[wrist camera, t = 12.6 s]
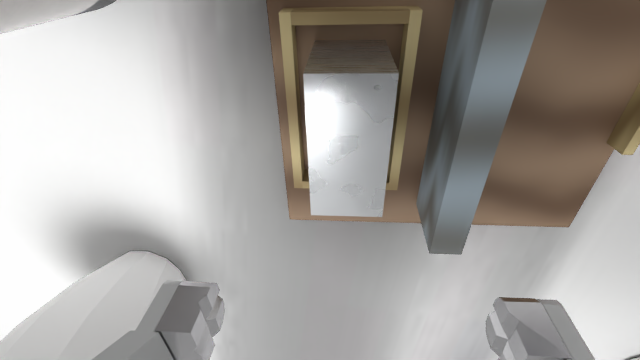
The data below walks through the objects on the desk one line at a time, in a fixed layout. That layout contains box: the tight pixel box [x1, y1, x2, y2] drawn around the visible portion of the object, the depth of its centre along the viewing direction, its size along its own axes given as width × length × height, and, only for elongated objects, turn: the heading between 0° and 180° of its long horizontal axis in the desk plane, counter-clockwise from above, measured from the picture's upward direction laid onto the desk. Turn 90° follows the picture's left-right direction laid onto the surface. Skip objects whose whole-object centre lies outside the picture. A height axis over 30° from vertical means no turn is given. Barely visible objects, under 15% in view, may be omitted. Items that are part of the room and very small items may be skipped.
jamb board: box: [266, 0, 640, 254], centre depth 19 cm, size 20×22×6 cm
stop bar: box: [303, 40, 399, 217], centre depth 18 cm, size 4×8×6 cm, turn 1°
